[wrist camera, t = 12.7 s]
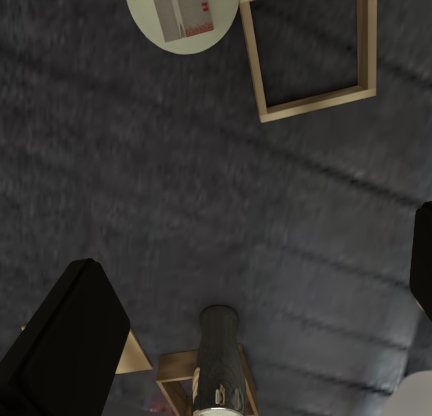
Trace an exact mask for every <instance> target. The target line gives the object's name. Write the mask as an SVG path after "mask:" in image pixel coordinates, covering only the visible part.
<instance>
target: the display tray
mask: <svg viewBox="0 0 432 416" xmlns="http://www.w3.org/2000/svg"><path fill="white" fill-rule="evenodd" d="M238 348H239V352H240V355H241V360H242V364H243V368H244V374H245V382H246V416H259V415H258V405H257V395H256V389H255V386H254V382H253V379H252V376H251V373H250V370H249V367H248V364H247V361H246V358H245V355H244V352H243V349H242V345H241V344H238ZM197 354H198V350H195V351H188V352H181V353H174V354H168V355H161V357H160V363H159V368H158V374H157V379H156V382H157V383H158V385H159V387H160V388H161V390H162V392H163V393H164V395H165V397H166V399H167V400H168V402H169V404H170V405H171V407H172V409H173V410H174V412H175V414H176V415H177V416H191V397H186V395H185V393H184V391H183V390H182V388H181V386H180V384H179V382H178V380H185V379H192V376H193V371H194V366H195V362H196V358H197Z"/></svg>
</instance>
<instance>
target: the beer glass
mask: <svg viewBox="0 0 432 416" xmlns="http://www.w3.org/2000/svg"><path fill="white" fill-rule="evenodd" d="M200 326H201V342H200V346H199V350H198V354H197V358H196V362H195V366H194V371H193V376H192V385H191V416H246V382H245V374H244V368H243V364H242V360H241V355H240V352H239V348H238V343H237V326H238V315H237V313H236V312H235V311H234V310H233V309H231V308H229V307H227V306H222V305H215V306H211V307H208V308H206V309H205V310H204V311H203V312H202V313H201V315H200Z"/></svg>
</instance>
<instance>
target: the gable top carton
mask: <svg viewBox="0 0 432 416" xmlns="http://www.w3.org/2000/svg"><path fill="white" fill-rule="evenodd" d="M154 4H155V7H156V11H157V15H158V18H159V22H160V25H161V29H162V33H163V36H164V40H165V43H166V42H170V41H174V40H179V39H181V38H185V37H190V36H194V35H197V34H201V33H204V32H208V31H212V30H214V27H213V22H212V17H211V12H210V7H209V2H208V0H154Z"/></svg>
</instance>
